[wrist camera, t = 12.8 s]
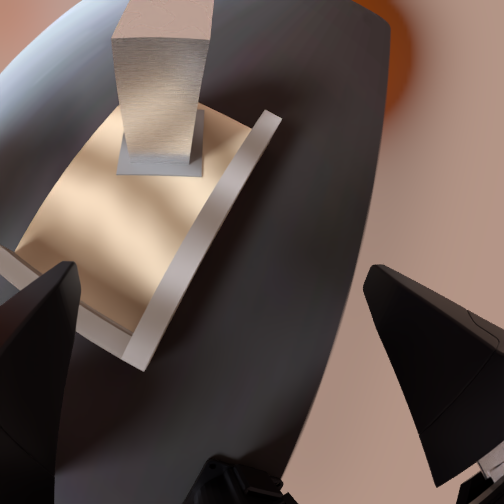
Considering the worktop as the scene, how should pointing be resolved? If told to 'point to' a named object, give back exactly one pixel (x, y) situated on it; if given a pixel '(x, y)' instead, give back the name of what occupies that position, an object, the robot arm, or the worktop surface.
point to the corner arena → (137, 227)
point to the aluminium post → (161, 75)
